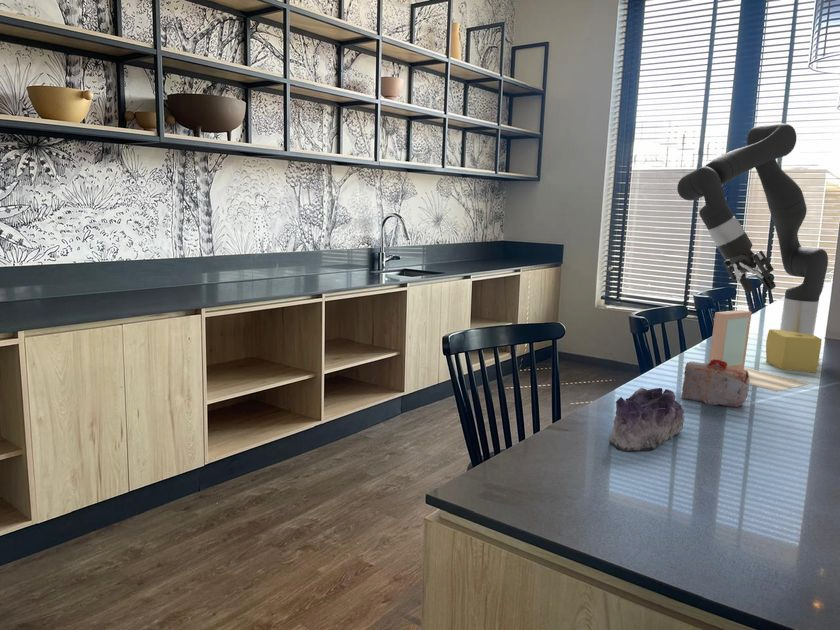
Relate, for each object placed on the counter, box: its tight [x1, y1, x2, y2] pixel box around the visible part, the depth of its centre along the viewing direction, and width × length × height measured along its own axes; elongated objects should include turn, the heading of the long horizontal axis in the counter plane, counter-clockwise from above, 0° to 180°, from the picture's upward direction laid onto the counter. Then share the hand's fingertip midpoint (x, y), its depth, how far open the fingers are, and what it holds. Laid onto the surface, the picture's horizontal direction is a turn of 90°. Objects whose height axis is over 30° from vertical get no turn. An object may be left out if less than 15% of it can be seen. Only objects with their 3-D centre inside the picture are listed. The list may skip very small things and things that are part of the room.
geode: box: [609, 387, 685, 453], centre depth 120 cm, size 20×12×10 cm, turn 143°
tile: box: [708, 309, 753, 369], centre depth 173 cm, size 12×3×16 cm, turn 123°
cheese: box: [765, 329, 822, 373], centre depth 181 cm, size 10×11×10 cm
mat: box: [741, 366, 810, 393], centre depth 169 cm, size 16×23×1 cm
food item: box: [681, 359, 750, 408], centre depth 145 cm, size 14×8×10 cm, turn 62°
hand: (761, 290), depth 168 cm, fingers open, 8 cm apart
